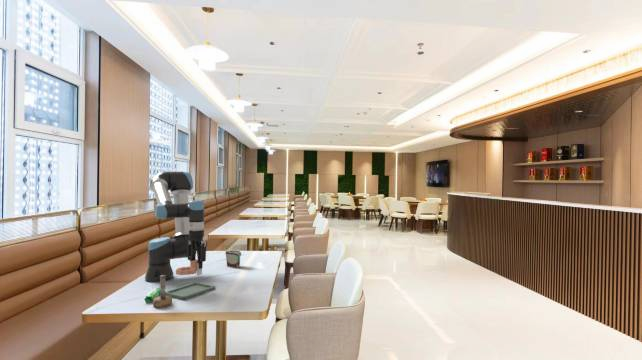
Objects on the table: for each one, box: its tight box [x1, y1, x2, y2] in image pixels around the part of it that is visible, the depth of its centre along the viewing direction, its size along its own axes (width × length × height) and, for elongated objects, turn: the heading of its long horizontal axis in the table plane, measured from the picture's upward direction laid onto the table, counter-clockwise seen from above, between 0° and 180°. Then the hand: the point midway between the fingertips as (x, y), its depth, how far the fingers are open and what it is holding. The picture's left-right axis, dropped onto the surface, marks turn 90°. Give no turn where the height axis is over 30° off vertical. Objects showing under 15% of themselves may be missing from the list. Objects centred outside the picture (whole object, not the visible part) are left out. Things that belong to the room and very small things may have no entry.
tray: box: [165, 281, 216, 301], centre depth 184 cm, size 20×15×2 cm
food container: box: [224, 250, 242, 269], centre depth 236 cm, size 12×6×10 cm, turn 58°
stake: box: [152, 275, 173, 309], centre depth 165 cm, size 8×8×14 cm
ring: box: [175, 258, 198, 276], centre depth 183 cm, size 9×13×5 cm
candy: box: [144, 288, 160, 304], centre depth 174 cm, size 12×3×4 cm
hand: (196, 274), depth 187 cm, fingers closed on ring, 3 cm apart
